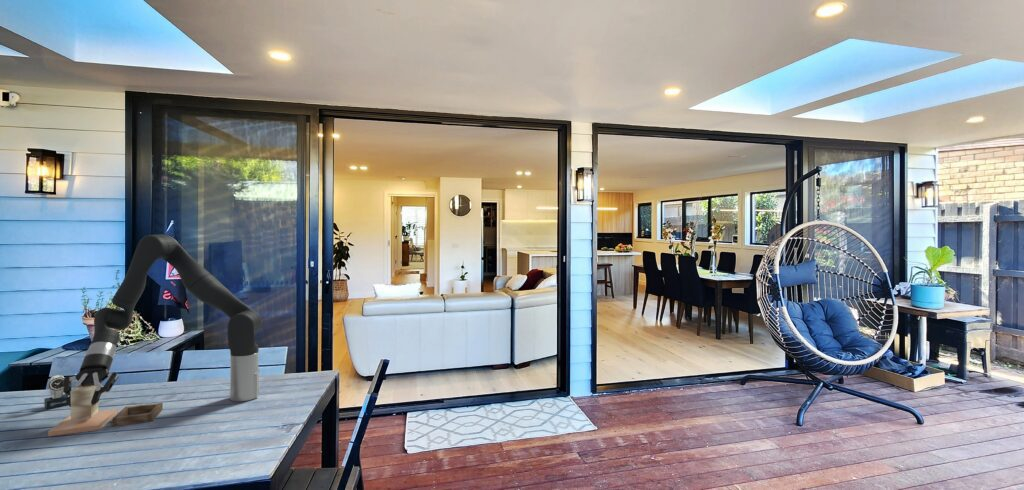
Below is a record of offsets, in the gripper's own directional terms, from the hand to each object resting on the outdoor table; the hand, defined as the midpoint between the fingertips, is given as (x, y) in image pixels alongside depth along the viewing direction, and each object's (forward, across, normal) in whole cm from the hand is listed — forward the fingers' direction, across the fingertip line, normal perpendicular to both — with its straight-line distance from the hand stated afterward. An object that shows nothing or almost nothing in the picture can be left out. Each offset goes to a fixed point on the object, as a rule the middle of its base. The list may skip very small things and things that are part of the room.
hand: (82, 404), depth 141 cm
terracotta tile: (+4, 0, +6) cm, 7 cm away
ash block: (+2, 0, +4) cm, 5 cm away
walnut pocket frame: (+4, +14, +6) cm, 16 cm away
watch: (-12, -16, +22) cm, 30 cm away
